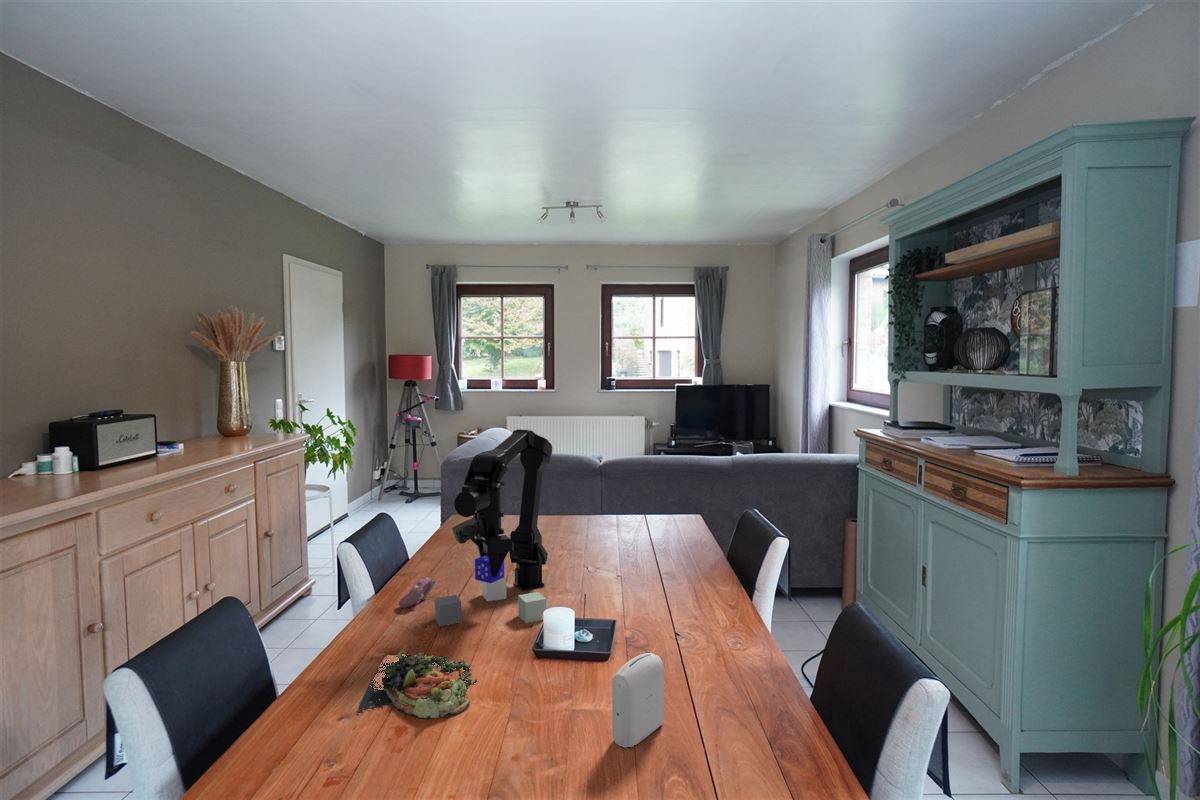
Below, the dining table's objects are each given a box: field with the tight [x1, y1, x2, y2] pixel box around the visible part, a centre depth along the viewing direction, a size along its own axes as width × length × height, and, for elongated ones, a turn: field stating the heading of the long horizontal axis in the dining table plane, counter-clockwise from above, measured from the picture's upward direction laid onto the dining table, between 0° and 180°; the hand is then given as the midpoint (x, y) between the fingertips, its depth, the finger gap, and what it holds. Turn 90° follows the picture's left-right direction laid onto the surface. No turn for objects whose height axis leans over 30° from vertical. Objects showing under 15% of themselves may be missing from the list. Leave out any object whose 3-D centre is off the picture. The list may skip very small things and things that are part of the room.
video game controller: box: [398, 576, 436, 609], centre depth 161 cm, size 10×5×7 cm, turn 169°
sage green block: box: [517, 591, 547, 624], centre depth 151 cm, size 5×5×5 cm
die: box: [474, 555, 505, 583], centre depth 153 cm, size 5×5×5 cm
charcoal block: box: [434, 594, 463, 627], centre depth 149 cm, size 5×5×5 cm
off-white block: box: [481, 577, 507, 602], centre depth 165 cm, size 5×5×5 cm
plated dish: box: [354, 649, 478, 720], centre depth 119 cm, size 35×28×7 cm
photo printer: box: [611, 652, 665, 748], centre depth 104 cm, size 10×4×12 cm, turn 140°
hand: (489, 572), depth 153 cm, fingers closed on die, 7 cm apart
